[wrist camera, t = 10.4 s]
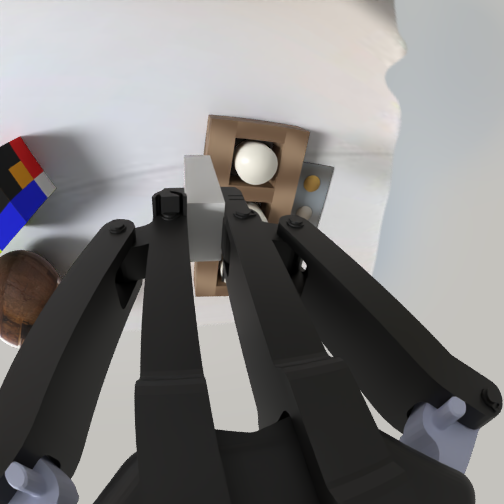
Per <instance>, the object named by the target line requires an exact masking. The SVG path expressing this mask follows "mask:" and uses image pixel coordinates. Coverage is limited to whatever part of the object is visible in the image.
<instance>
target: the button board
mask: <svg viewBox="0 0 504 504" xmlns="http://www.w3.org/2000/svg"><path fill="white" fill-rule="evenodd" d="M309 134H310V132H309V131H306V130H304V129H302V128H300V127H298V126H292V125H286V124H281V123H274V122H268V121H261V120H254V119H246V118H237V117H228V116H217V115H209V116H208V124H207V131H206V139H205V148H204V155H210V157H211V160H212V164H213V167H214V170H215V173H216V176H217V179H218V182H219V185H220V187H236V188H237V189H239V190H240V191H241V193H242V195H243V197H244V199H245V201H252V202H262V203H261V208H260V209H261V211H262V212H263V214H264V216H265V217H266V219H267V221H268V223H274V224H278V223H279V218H280V217H282V216H285V215H298V216H300V217H302V218H305V219H306V220H308V221H309V222H310V223H312V224H313V225H314V226H315V227H316V228H317V225H318V221H319V218H320V215H321V211H322V208H323V204H324V201H325V197H326V194H327V190H328V187H329V183H330V179H331V176H332V172H333V168H334V167H331V166H325V165H319V164H312V163H306V162H303V160H304V156H305V152H306V147H307V143H308V138H309ZM235 138H244V139H253V140H262V141H270V142H273V146H272V151H273V152H274V153H275V155H276V157H277V161H278V167H277V170H276V173H275V174H274V176H273V177H272V178H271V179H270V180H269V181H267V182H265V183H263V184H259V185H252V184H249V183H246V182H245V181H243V180H242V179H241V178H240V176H234V175H230V171H231V165H232V158H233V151H234V144H235ZM218 264H219V261H200V262H195V265H194V286H195V295H196V297H201V296H229V294H228V290H227V285H226V283H225V282H222V275H221V271H220V270H218Z"/></svg>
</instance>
